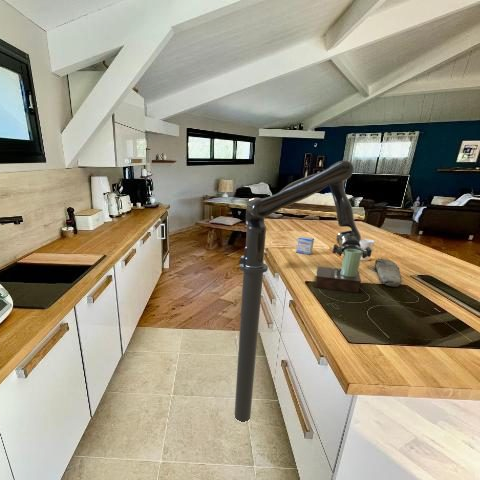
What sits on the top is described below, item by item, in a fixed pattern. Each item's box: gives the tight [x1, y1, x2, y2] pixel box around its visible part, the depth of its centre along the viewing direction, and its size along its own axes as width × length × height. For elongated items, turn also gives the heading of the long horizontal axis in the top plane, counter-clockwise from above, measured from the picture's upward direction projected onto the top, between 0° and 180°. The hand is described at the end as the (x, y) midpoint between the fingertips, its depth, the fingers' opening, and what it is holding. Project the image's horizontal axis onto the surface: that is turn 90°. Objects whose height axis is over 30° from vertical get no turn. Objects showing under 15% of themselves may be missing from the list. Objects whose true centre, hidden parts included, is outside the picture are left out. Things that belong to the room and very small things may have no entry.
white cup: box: [359, 238, 376, 262], centre depth 165 cm, size 8×8×10 cm
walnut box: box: [314, 265, 362, 294], centre depth 131 cm, size 16×14×5 cm
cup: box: [340, 249, 362, 277], centre depth 127 cm, size 6×6×10 cm
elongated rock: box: [374, 257, 403, 288], centre depth 142 cm, size 35×5×10 cm
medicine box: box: [295, 236, 315, 256], centre depth 177 cm, size 8×4×9 cm, turn 55°
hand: (352, 254), depth 124 cm, fingers open, 8 cm apart
